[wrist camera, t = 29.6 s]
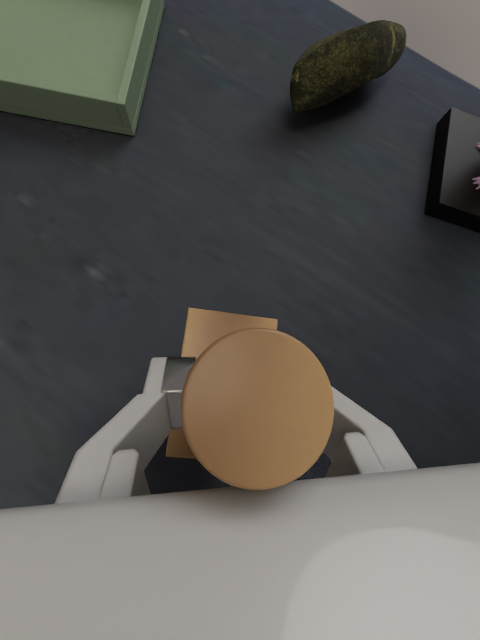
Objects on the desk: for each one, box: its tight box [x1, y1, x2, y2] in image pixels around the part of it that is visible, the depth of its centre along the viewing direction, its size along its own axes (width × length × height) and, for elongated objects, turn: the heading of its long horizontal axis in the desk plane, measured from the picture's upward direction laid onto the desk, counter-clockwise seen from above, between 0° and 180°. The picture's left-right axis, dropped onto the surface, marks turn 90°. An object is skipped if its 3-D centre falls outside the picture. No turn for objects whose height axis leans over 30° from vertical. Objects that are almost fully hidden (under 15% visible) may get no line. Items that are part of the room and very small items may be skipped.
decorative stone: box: [290, 20, 406, 112], centre depth 22 cm, size 11×8×5 cm
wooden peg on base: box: [166, 308, 334, 490], centre depth 10 cm, size 5×7×12 cm, turn 174°
